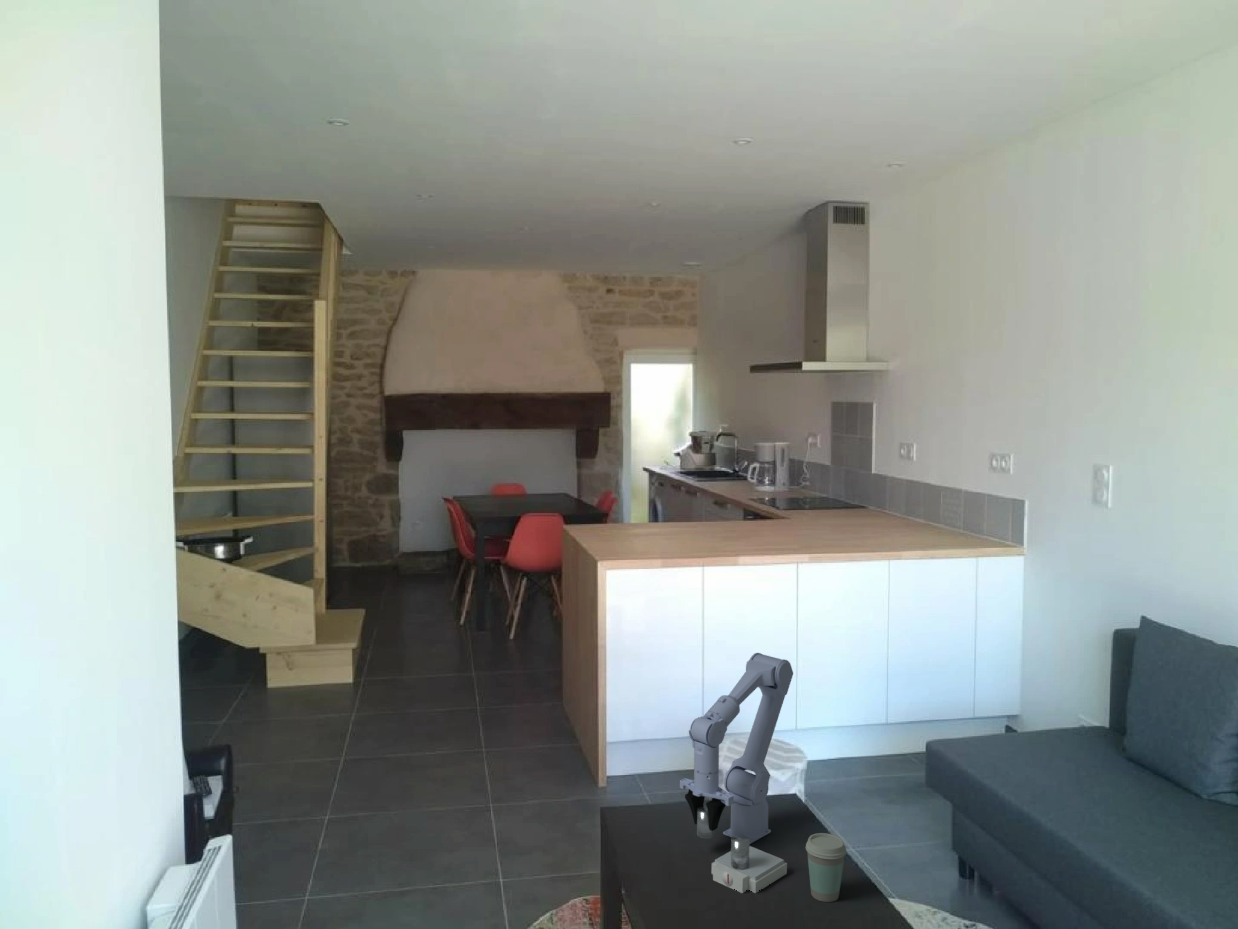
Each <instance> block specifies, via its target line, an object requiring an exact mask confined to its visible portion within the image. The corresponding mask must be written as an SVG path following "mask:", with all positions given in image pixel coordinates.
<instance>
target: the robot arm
mask: <svg viewBox="0 0 1238 929" xmlns="http://www.w3.org/2000/svg"><path fill="white" fill-rule="evenodd" d="M793 676H794V671H793V668H792V664H791V662H790V661H789V660H787V659H781V658H779V657H773V656H771V655H766V654H762V653H761V652H755V653H753V654H752V655H751V657H750V658H749V659H748V660H747V661H746V665H745V672H744V673H743V675H742V676H741V677H740V679H739V680H738V682H737V683H736V684H735V685H734V687H733V688H732V690H731V691H730V692H729V694H728V695H727V694H726V695H720V697H718V699H717V700H716V701H715V702H714V703H713V705H712V706H711V707H710V708H709V709H708V710H707V712H706V713H705V714H704V715H703V716H700V717H699V716H698V717H696V718H694V720H693V721H692V722H691V724H690V728H689V730H688V736H689V738H690V739H691V742H692V744H691V746H692V748H693V749H694V752H693V755H694V756H693V760H694V761H693V762H694V764H693V767H694V768H693V769H694V771H693V772H694V773H693V779H690V778H686V777H684V778H682V779H680V780H679V789H682V790H685V789H686V790H687V791H688V792H687V793H685V794H684V799H685V801H686V802H687V804H688V806H689V809H690V811H691V814H692V818H693V823H694V825H696V826H697V808H698V807H701V806H704V802H705V797H706V798H710V799H711V800H710V801H707V802H705V806H707V809H708V813H709V828H710V830H711V831H713V830H714V831H715V830H717V829H718V827H719V822H720V819H721V816H722V814H723V811H724V809H725V808H726V806H727V807H730V827H729V828H727V829H726V830H724V831H723V832H722V834H723V835H724V836H726V837H729V838H732V837H733V836H735V835H744V836H747V837H748V838H749V839H750V844H749V845H751V844H753V843H754V842H756V841H758V840H760V839H761V838H763V837H765V836H767V835H768V834H770V833H771V832H772V830H771V829H769V803H768V801H767V799H766V798H767V796H768V793H769V784H770V783H769V782H770V777H771V774H770V771H769V770H768V769H767V766H766V765H765V760H766V758H767V754H768V751H769V749H770V746H771V741H772V739H773V735H774V733H775V728H776V727H777V722H778V719H779V717H780V714H781V710H782V707H783V704H784V701H785V698H786V696H787V694H788V691H789V688H790V686H791V682H792V679H793ZM758 688H759V689H760V692H761V694H762V696H761V699H760V702H759V705H758V708H757V711H756V714H755V718H754V721H753V723H752V727H751V730H750V733H749V735H748V739H747V742H746V745H745V748H744V750H743V755H741V756H740V757H738V758H735V759H734V760H733V761H732V763H731V765H730V768H729V769H728V770H727V772H726V773H725V777H724V778H723V779H724V780H723V781H724V783H723V784H724V789H725V790H724V789H723V788H721V787H720V786H719V779H720V778H719V775H720V774H719V773H720V770H719V768H720V766H719V764H720V761H719V760H720V759H719V758H720V745H721V743H723V741H724V739H725V735H726V733H727V731H728V727H729V725H731V723H732V722H733V721H734V720H735V719H736V717H737V716H738V715H739V714H740V711H741V707H740V705H741V704H742V703H743V702H744V701H745V700H746V699H747V698H748V697H749V696H750V695H752V694H753V693H754V691H755V690H756V689H758ZM749 771H750V772H749ZM751 772H753V773H751Z"/></svg>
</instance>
